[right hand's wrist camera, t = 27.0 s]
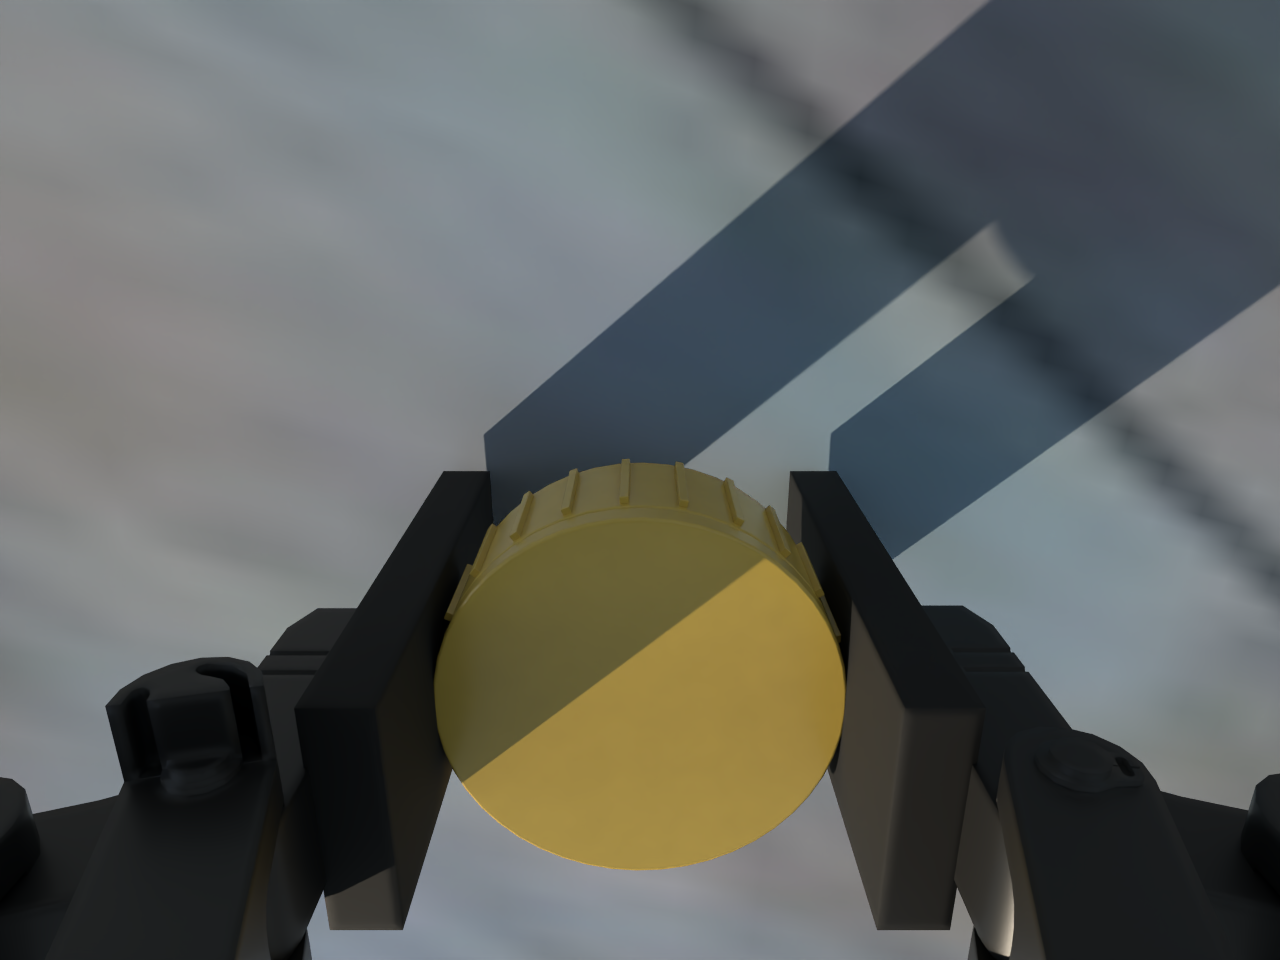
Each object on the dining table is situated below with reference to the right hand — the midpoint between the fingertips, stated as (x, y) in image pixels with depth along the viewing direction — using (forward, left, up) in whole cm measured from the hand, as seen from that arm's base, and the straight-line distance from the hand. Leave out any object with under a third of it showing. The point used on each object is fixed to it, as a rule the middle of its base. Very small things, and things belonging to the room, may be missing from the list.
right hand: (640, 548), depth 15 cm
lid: (0, 0, +4) cm, 4 cm away
